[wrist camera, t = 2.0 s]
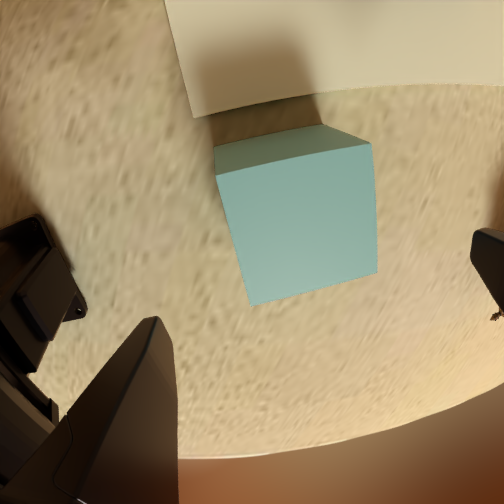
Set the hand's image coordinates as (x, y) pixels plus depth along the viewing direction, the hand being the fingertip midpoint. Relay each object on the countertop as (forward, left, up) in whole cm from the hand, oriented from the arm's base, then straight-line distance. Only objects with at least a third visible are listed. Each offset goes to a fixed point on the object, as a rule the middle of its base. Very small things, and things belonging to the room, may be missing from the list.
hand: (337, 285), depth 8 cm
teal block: (0, 0, -8) cm, 8 cm away
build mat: (+7, +11, -8) cm, 15 cm away
